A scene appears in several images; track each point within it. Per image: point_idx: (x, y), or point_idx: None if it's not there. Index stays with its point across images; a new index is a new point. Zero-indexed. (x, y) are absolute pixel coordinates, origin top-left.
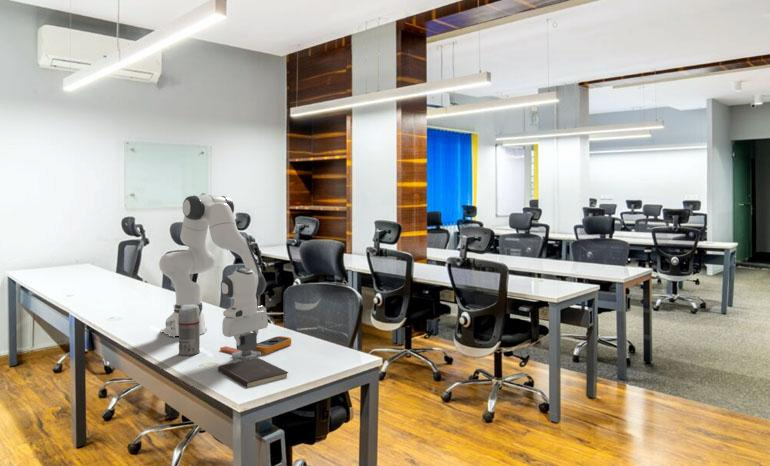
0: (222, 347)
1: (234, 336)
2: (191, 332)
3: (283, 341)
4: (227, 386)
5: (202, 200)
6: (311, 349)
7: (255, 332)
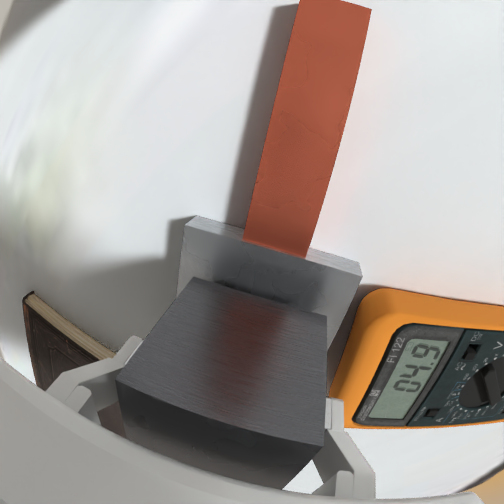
0: (321, 2)
1: (60, 386)
2: None
3: (478, 424)
4: (21, 370)
5: None
6: (432, 468)
7: (312, 493)
